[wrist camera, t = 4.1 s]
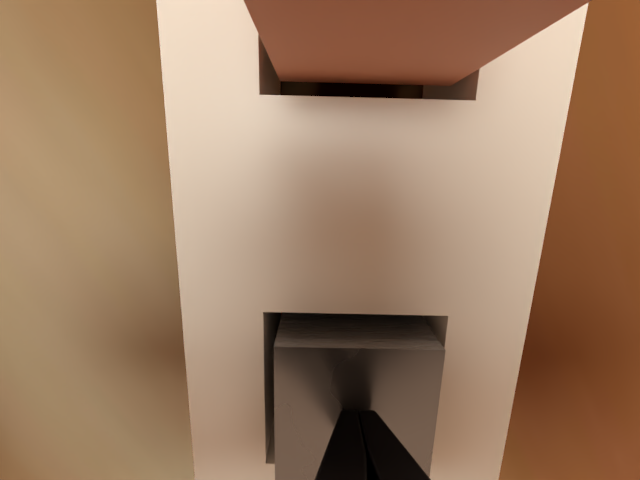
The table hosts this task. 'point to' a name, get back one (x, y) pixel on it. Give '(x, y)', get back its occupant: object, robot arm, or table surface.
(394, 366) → the grey cube
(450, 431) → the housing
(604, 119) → the table surface
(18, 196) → the table surface
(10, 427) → the table surface
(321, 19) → the terracotta plunger
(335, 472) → the robot arm
